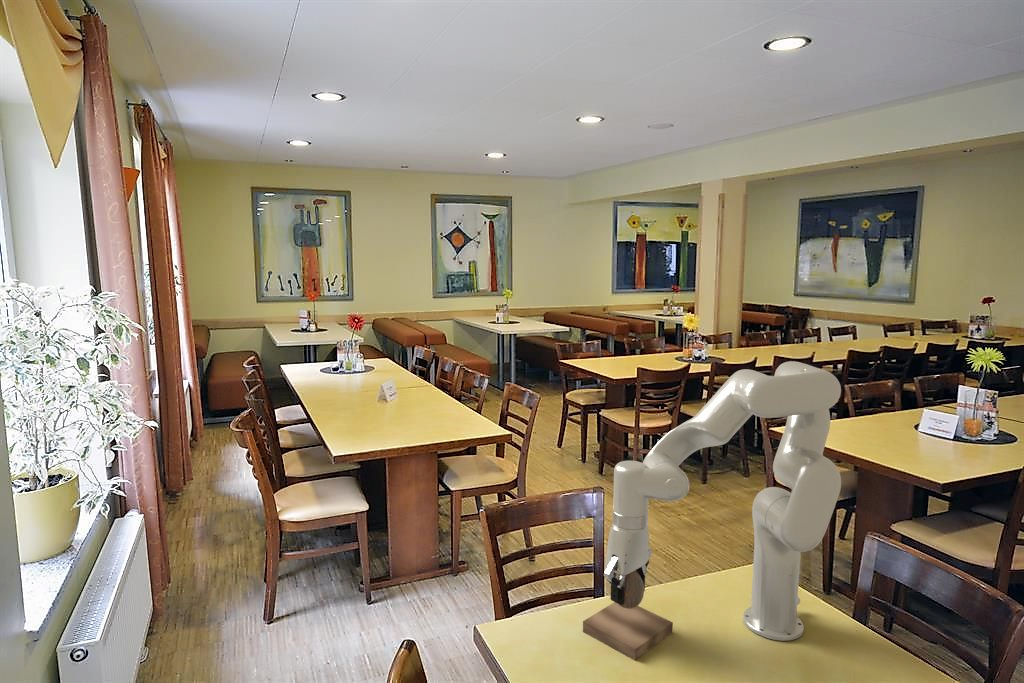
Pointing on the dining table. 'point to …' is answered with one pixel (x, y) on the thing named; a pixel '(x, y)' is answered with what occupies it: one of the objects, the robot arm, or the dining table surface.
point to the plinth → (628, 629)
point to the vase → (632, 590)
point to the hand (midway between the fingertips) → (627, 595)
